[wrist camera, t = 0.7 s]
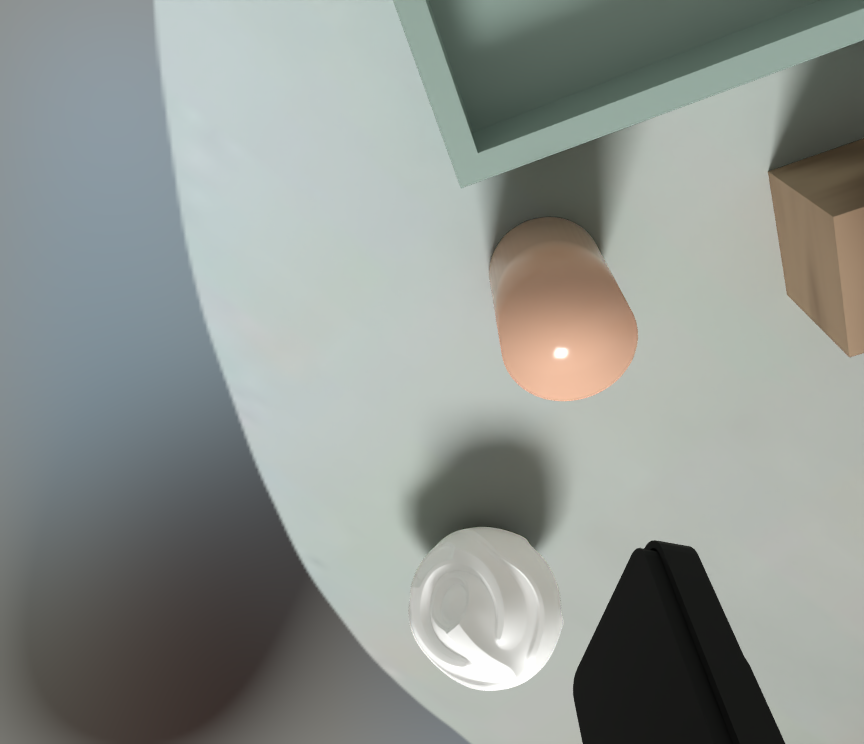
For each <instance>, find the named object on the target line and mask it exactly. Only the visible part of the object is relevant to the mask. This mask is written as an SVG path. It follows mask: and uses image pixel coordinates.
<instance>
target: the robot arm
mask: <svg viewBox="0 0 864 744" xmlns="http://www.w3.org/2000/svg"><path fill="white" fill-rule="evenodd" d="M573 696H574V702H575V707H576V712H577V717H578V722H579V727H580V732H581V737H582V742H583V744H785V742H784V740H783V738H782V735H781V733H780V731H779V729H778V727H777V724H776V722H775V720H774V718H773V716H772V713H771V711H770V709H769V707H768V705H767V702H766V700H765V698H764V696H763V694H762V691H761V689H760V687H759V685H758V683H757V680H756V678H755V676H754V674H753V672H752V669H751V667H750V665H749V664H748V662H747V660H746V659H745V657H744V655H743V653H742V651H741V649H740V647H739V644H738V642H737V640H736V638H735V635H734V633H733V631H732V629H731V627H730V624H729V622H728V620H727V618H726V616H725V613H724V611H723V609H722V607H721V604H720V602H719V600H718V598H717V596H716V593H715V591H714V589H713V587H712V585H711V582H710V580H709V578H708V576H707V573H706V571H705V569H704V567H703V565H702V562H701V560H700V558H699V556H698V554H697V552H696V551H695V549H693V548H692V547H690V546H684V545H678V544H673V543H667V542H661V541H650V542H649V543H648V544H647V545H646V547H645V548H644V549H642V548H637V549H636V550H635V551H634V552H633V553H632V555H631V557H630V559H629V561H628V563H627V566H626V568H625V570H624V572H623V574H622V576H621V578H620V580H619V582H618V584H617V586H616V589H615V591H614V593H613V595H612V597H611V599H610V601H609V603H608V605H607V607H606V610H605V612H604V614H603V616H602V618H601V620H600V622H599V624H598V626H597V628H596V631H595V633H594V635H593V637H592V639H591V641H590V643H589V645H588V647H587V649H586V652H585V654H584V656H583V658H582V660H581V662H580V664H579V666H578V668H577V671H576V673H575V677H574V684H573Z"/></svg>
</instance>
